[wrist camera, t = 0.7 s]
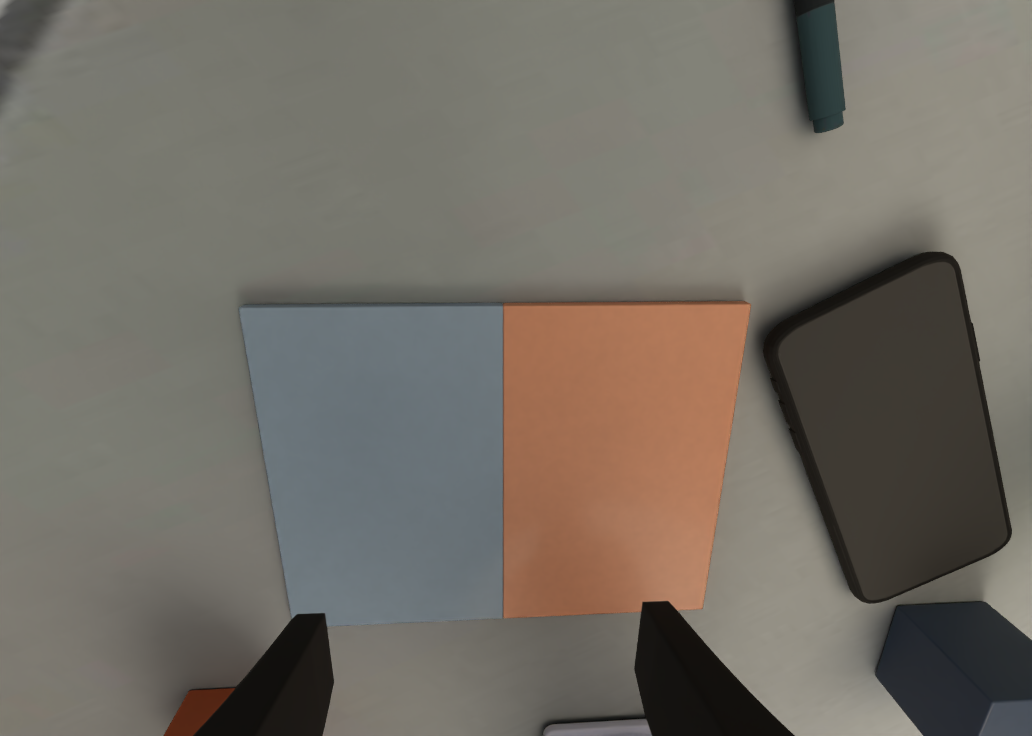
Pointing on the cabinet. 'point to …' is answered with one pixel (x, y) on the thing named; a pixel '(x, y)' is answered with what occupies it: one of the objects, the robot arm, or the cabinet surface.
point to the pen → (821, 63)
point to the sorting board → (494, 454)
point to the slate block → (959, 670)
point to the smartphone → (894, 426)
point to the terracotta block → (196, 710)
